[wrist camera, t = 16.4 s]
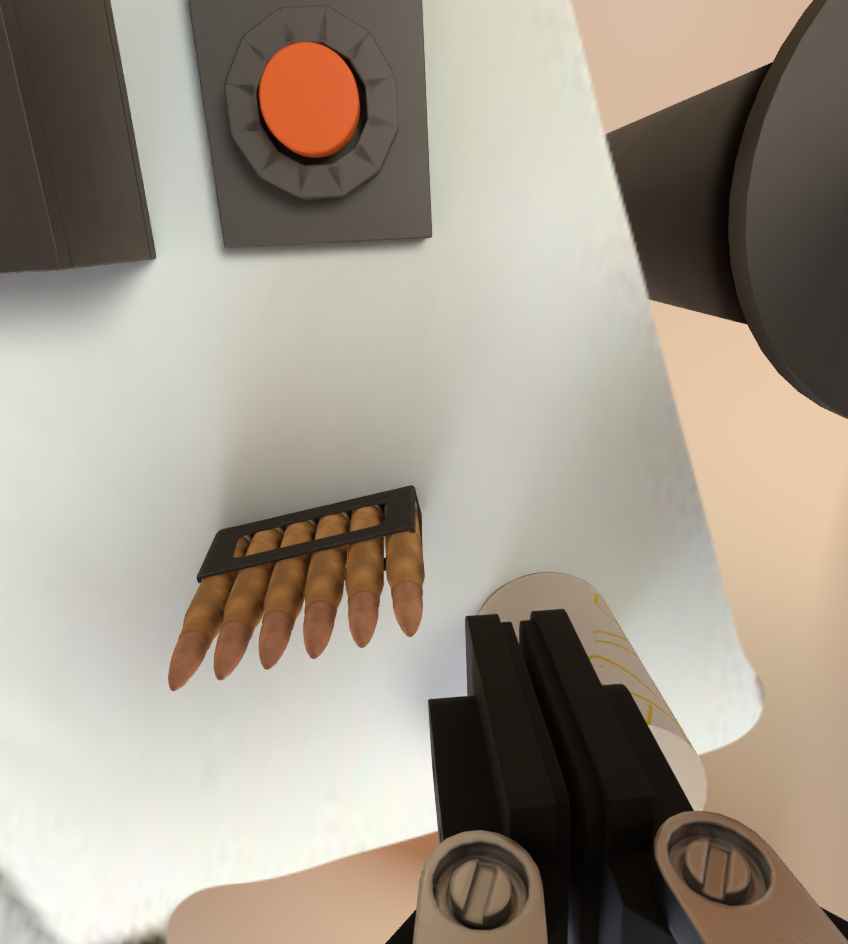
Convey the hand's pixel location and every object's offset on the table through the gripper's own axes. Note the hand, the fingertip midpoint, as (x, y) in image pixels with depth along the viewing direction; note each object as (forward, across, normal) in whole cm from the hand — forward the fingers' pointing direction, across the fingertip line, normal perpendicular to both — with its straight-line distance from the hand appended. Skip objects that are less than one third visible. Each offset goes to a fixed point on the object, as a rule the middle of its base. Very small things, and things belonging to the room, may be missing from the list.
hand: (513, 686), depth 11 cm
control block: (+23, +4, -12) cm, 26 cm away
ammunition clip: (+23, +6, +7) cm, 25 cm away
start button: (+20, +4, -12) cm, 24 cm away
